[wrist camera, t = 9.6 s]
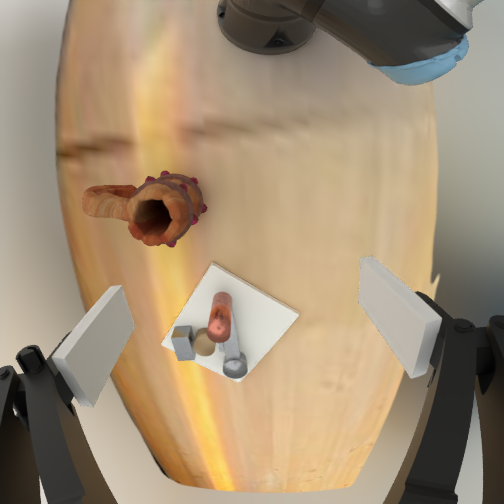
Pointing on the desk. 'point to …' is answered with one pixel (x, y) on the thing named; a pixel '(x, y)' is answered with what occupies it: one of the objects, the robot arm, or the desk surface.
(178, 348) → the grey rectangular block
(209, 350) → the tan short cylinder
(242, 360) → the lever
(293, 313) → the bench board
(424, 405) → the robot arm
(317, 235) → the desk surface
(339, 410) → the desk surface
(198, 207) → the mug
